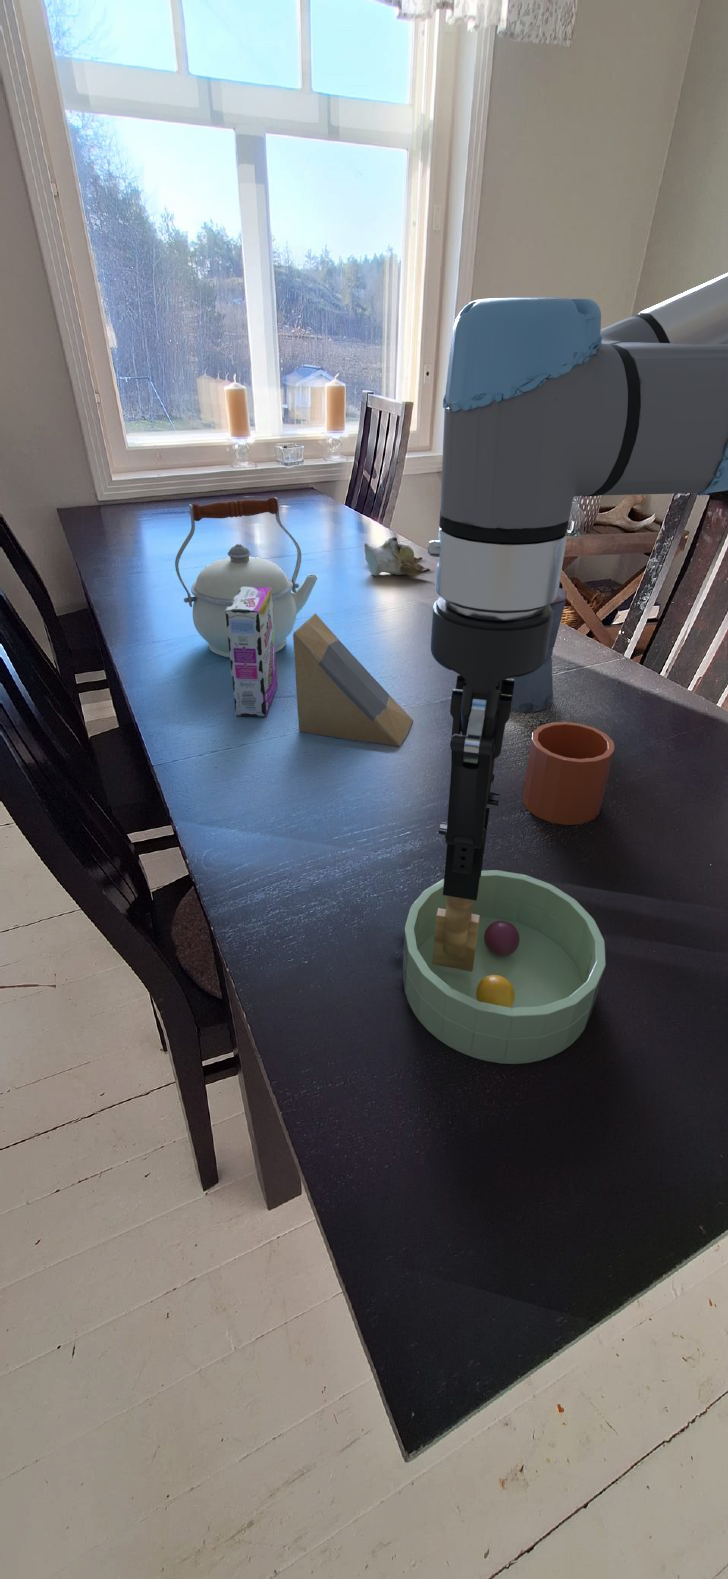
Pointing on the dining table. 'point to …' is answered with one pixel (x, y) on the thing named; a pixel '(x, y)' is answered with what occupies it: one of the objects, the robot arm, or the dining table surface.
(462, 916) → the wooden stirring stick
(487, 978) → the bead
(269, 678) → the candy bar box
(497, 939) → the bead
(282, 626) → the kettle
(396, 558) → the ceramic sculpture
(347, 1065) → the dining table surface
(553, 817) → the crock
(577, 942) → the bowl
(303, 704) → the sandwich container
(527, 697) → the moka pot
